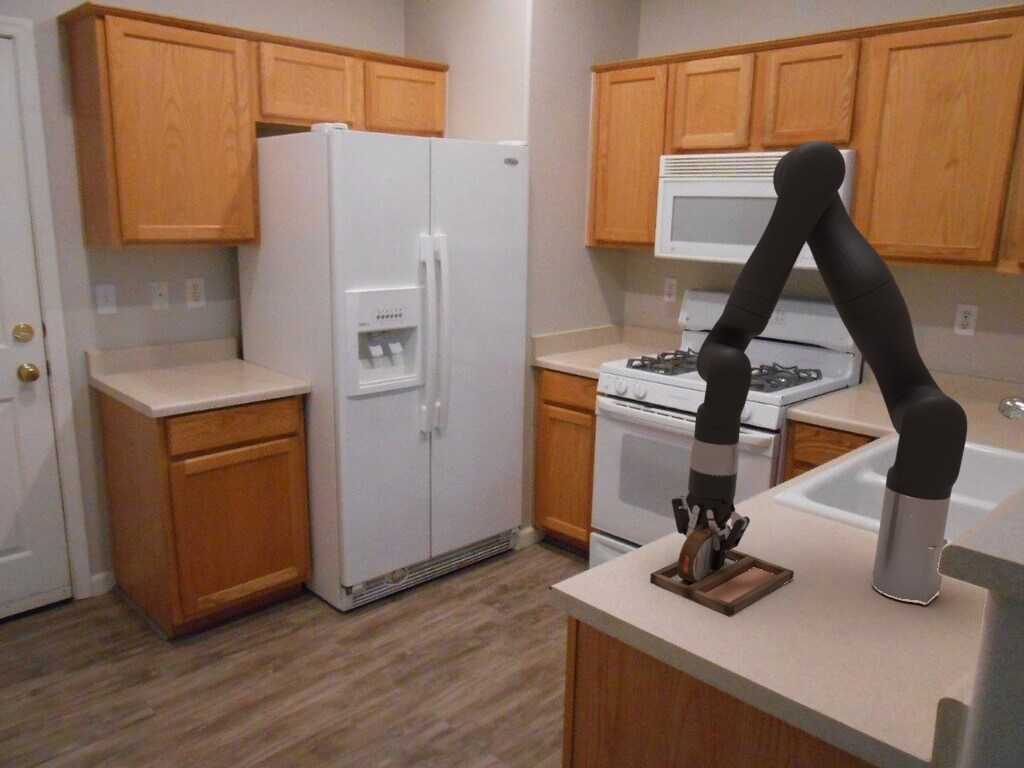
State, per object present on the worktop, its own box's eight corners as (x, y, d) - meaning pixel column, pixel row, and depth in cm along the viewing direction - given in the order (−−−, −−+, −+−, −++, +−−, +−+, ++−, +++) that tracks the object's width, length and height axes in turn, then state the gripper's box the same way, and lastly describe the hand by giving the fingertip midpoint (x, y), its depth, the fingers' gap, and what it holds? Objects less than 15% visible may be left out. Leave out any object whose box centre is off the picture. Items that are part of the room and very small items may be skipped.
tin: (714, 557, 138) (719, 512, 136) (731, 563, 136) (736, 517, 134) (673, 585, 127) (678, 536, 125) (691, 592, 125) (696, 542, 123)
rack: (792, 579, 130) (793, 571, 130) (729, 616, 117) (730, 607, 117) (715, 551, 141) (716, 543, 140) (650, 582, 127) (650, 573, 127)
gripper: (765, 472, 125) (754, 573, 129) (689, 452, 135) (681, 545, 139) (740, 482, 120) (730, 586, 124) (663, 459, 130) (656, 557, 134)
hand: (704, 564), depth 131 cm, fingers open, 3 cm apart
